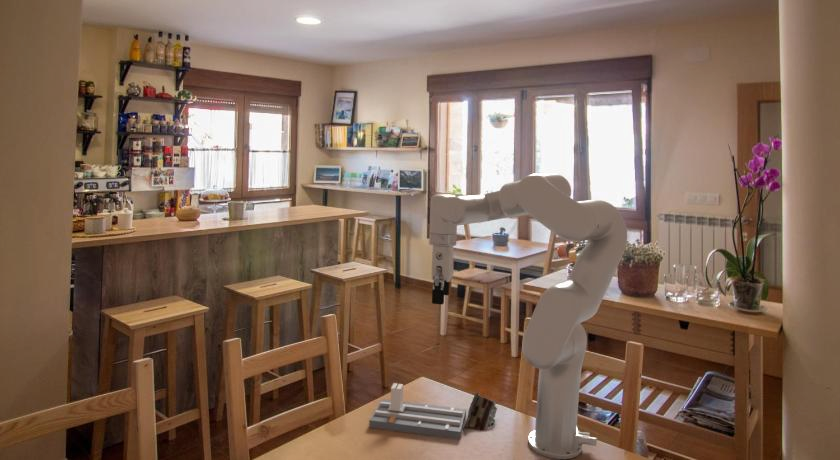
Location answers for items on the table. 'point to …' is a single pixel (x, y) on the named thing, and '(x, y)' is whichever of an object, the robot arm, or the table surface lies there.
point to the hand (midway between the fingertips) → (440, 299)
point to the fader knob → (396, 399)
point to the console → (420, 419)
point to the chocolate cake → (480, 413)
